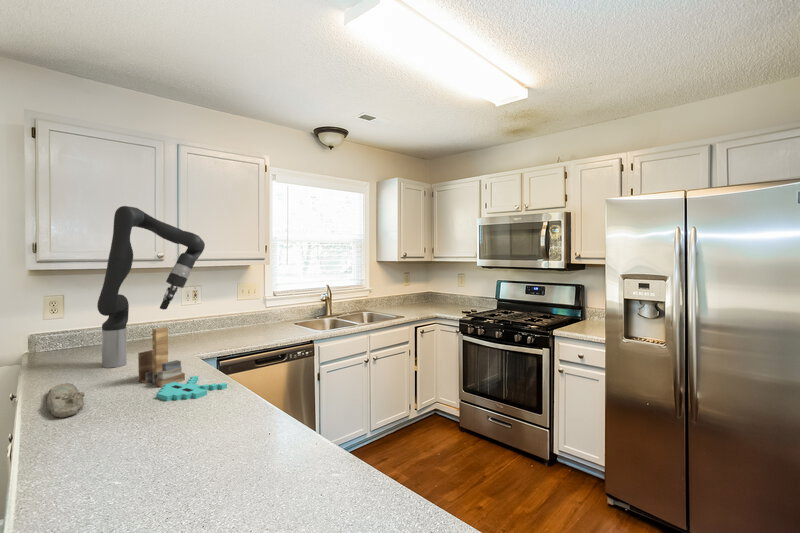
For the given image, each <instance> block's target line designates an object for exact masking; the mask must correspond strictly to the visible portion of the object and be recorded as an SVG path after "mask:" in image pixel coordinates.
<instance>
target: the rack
mask: <svg viewBox="0 0 800 533" xmlns="http://www.w3.org/2000/svg"><path fill="white" fill-rule="evenodd" d="M137 355H138V356H137V357H138V358H137V359H138V363H137V364H138V383H142V384H149V383H152V385H154V386H156V378H157V374H153V351H152V349H150V350H145V351H141V352H138V354H137Z"/></svg>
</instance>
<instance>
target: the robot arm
mask: <svg viewBox="0 0 800 533" xmlns="http://www.w3.org/2000/svg"><path fill="white" fill-rule="evenodd" d="M134 227H135V228H140V229H145V230H148V231H150V232H151V233H153V234H155V235H156V236H158V237H160V238H162V239H163V240H167V241H169V242H171V243H173V244H177V245H182V246H185V247H187V248H186V250H185V251H184V252H182V253H181V254H180V255H179V256H178V258H177V260H176V262H175V263H174V265H173V267H172V269H171V271H170V272H169V275H168V276H167V278H166V283H168V284H169V285H170V286H169V287H166V290H165V293H164V295H163V298H162V302H161V304H160V306H159V309H160V310H163V311H164V310H167V309H168V306H170V303H171V302H172V301H173V299H174V298H175V296H176V294H177V293H178V289H179V288H180V289H181V288H182V289H184V287H185V286H186V284H187V282H188V279H189V277H190V274H191V272H192V269H193V267H194V265H195V263H196V261H197V260H198V259H199V257H200V256H201V255H202V253H203V251H204V250H205V245H206V244H205V241H204V240H203V239H202V238H201V237H200V235H197V234H195V233H194V232H191V231H187V230H182V229H180V228H178V227H176V226H173V225H171V224H169V223H166V222H164V221H161V220H159V219H157V218H155V217H153V216H151V215H150V214H148V213H146V212H144V210H142V209H140V208H138V207H134V206H127V205H123V206H119V207H118V208H117V209H116V210H115V213H114V216H113V231H112V237H111V238H112V239H111V244H110V251H109V254H108V260H107V265H106V270H105V276H104V280H103V284H102V288H101V291H100V294H99V297H98V299H97V306H96V307H97V311H98V312H99V314H100V315H102V316H105V317H108V318H107V319H106V321H104V322H103V323H102V324H101V344H102V345H101V365H102V367H103V368H106V369H108V368H109V369H111V368H118V367H119V368H120V367H122V366H123V367H124V366H126V365H127V361H128V359H127V356H128V355H127V324H128V322H129V307H130V305H129V301H128V298H127V297H126V296H125V295H124V294H119V291H120V288H121V286H122V285H123V283H124V280H125V279H126V278H127V277H128V275H129V274H130V272H131V269H132V265H133V260H134V251H133V246H132V244H131V243H132V242H131V233H132V229H133V228H134Z"/></svg>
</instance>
